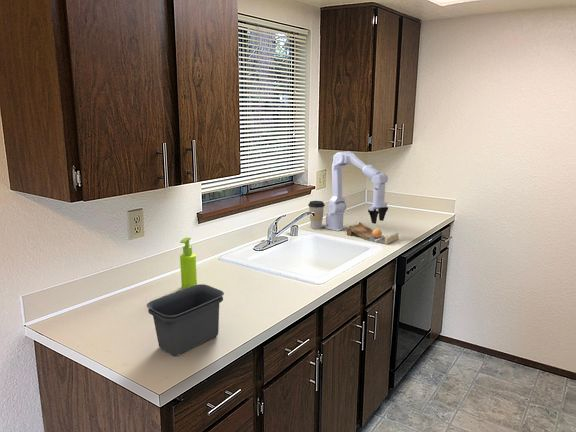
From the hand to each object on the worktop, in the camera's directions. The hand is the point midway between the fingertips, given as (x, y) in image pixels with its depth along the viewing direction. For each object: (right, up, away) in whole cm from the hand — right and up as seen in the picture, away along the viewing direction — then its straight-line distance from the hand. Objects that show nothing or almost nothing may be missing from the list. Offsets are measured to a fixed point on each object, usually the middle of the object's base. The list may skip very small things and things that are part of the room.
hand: (377, 221), depth 244 cm
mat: (+2, -9, +1) cm, 9 cm away
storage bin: (-78, -35, -102) cm, 133 cm away
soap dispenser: (-86, -25, -62) cm, 109 cm away
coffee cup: (-31, -4, +23) cm, 39 cm away
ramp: (-7, -8, +8) cm, 13 cm away
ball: (0, -6, +2) cm, 6 cm away
